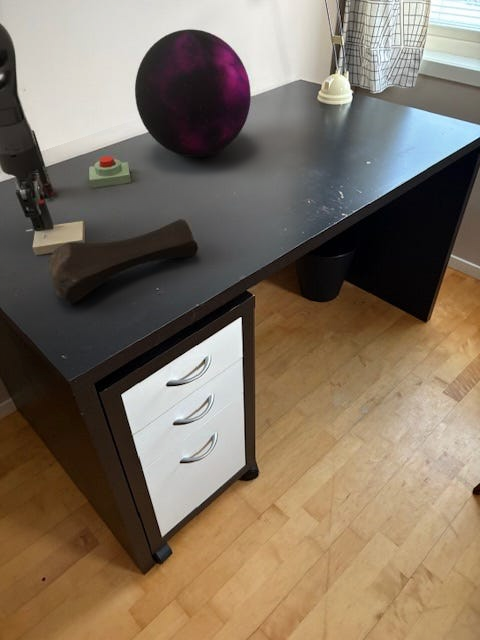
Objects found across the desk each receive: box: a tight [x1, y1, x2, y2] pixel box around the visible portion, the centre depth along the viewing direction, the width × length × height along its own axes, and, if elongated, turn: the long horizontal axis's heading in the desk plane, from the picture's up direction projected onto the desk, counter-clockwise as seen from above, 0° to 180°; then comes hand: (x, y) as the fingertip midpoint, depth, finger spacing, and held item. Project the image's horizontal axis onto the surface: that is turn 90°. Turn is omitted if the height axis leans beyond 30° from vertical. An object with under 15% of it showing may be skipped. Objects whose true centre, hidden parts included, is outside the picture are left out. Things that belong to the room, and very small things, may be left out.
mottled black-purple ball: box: [134, 28, 252, 158], centre depth 125 cm, size 30×30×30 cm
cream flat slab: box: [25, 220, 86, 256], centre depth 102 cm, size 12×11×2 cm
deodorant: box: [31, 129, 55, 200], centre depth 114 cm, size 6×6×15 cm
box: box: [88, 158, 132, 189], centre depth 123 cm, size 10×8×4 cm
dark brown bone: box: [48, 218, 199, 304], centre depth 90 cm, size 11×10×28 cm
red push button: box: [98, 155, 115, 168], centre depth 121 cm, size 4×4×2 cm
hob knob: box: [29, 199, 55, 230], centre depth 100 cm, size 4×2×6 cm, turn 103°
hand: (42, 221), depth 101 cm, fingers open, 6 cm apart
